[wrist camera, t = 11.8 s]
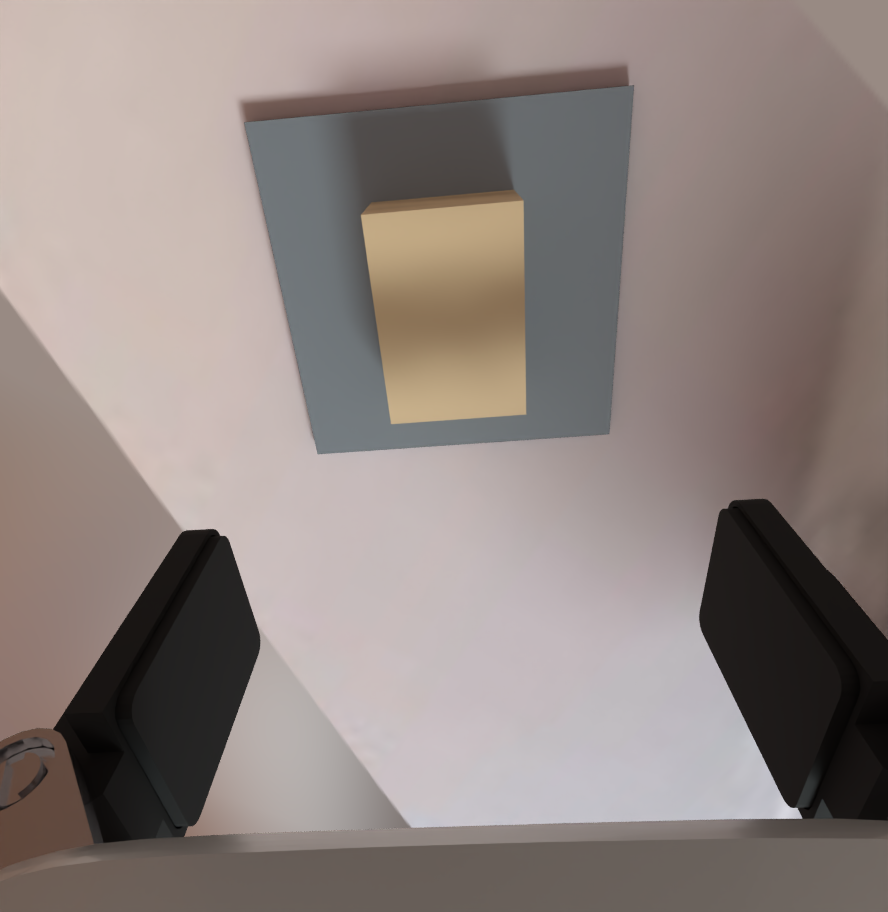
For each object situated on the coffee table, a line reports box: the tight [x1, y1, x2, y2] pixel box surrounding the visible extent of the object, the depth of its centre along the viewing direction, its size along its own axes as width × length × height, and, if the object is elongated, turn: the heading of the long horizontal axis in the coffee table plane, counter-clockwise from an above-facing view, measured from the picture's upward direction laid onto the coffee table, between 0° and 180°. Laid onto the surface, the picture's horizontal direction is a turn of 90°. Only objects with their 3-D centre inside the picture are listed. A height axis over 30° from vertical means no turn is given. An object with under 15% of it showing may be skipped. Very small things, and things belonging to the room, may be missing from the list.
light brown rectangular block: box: [361, 190, 526, 424], centre depth 23 cm, size 8×6×3 cm
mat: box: [244, 85, 634, 454], centre depth 25 cm, size 14×14×1 cm
